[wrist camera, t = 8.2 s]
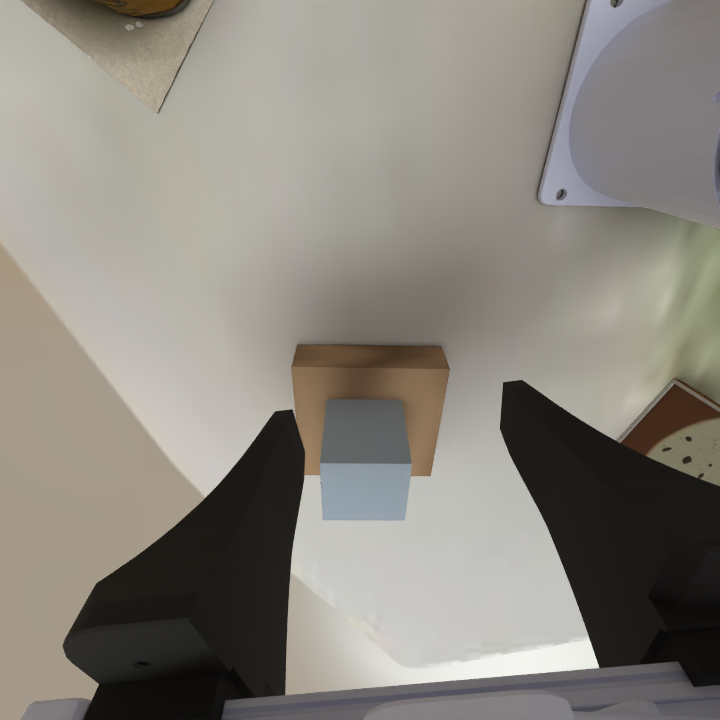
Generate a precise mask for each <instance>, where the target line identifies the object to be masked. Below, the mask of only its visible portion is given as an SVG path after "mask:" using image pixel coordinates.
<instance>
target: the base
mask: <svg viewBox="0 0 720 720" xmlns="http://www.w3.org/2000/svg"><path fill="white" fill-rule="evenodd" d="M291 368H292V379H293V389H294V400H295V411H296V422H297V426H298V430H299V433H300V436H301V439H302V443H303V446H304V449H305V472H304V475H320V456H321V447H322V438H323V429H324V420H325V411H326V402H327V399H364V400H402V405H403V411H404V417H405V423H406V430H407V436H408V442H409V448H410V455H411V461H412V468H411V475H410V476H431V471H432V465H433V460H434V454H435V448H436V443H437V437H438V432H439V426H440V421H441V415H442V410H443V404H444V398H445V393H446V387H447V382H448V376H449V371H450V368H449V366H448V363H447V360H446V358H445V355H444V352H443V350H442V347H415V346H347V345H297V348H296V352H295V355H294V359H293V363H292V367H291Z"/></svg>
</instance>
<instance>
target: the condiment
mask: <svg viewBox="0 0 720 720" xmlns="http://www.w3.org/2000/svg"><path fill="white" fill-rule="evenodd" d="M22 1H23V2H24V3H25V4H26V5H28V6H29V7H30V8H31V9H32V10H34V11H35V12H36V13H37V14H39V15H40V16H41V17H42V18H43V19H44V20H46V21H47V22H48V23H50V24H51V25H52V26H53V27H55V28H56V29H57V30H58V31H60V32H61V33H62V34H63V35H64V36H65V37H67V38H68V39H69V40H70V41H71V42H72V43H74V44H75V45H76V46H77V47H78V48H80V49H81V50H82V51H83V52H85V53H86V54H87V55H90V56H91V57H92V59H93V60H94V61H95V62H97V63H98V64H99V65H100V66H101V67H102V68H103V69H105V70H106V71H107V72H108V73H109V74H111V75H112V76H113V77H114V78H115V79H117V80H118V81H119V82H121V83H122V84H123V85H124V86H125V87H127V88H128V89H129V90H130V91H132V92H133V94H135V95H136V96H137V97H138V98H139V99H141V100H142V101H143V102H144V103H145V104H146V105H148V106H149V107H150V108H151V109H153V110H154V111H155V112H156V113H158V111H159V109H160V107H161V105H162V102H163V100H164V98H165V96H166V93H167V92H168V90H169V88H170V86H171V84H172V82H173V80H174V78H175V75H176V73H177V71H178V69H179V67H180V65H181V63H182V61H183V59H184V57H185V55H186V53H187V51H188V48H189V46H190V44H191V43H192V41H193V39H194V37H195V35H196V33H197V31H198V29H199V27H200V25H201V23H202V22H203V20H204V18H205V16H206V14H207V12H208V10H209V8H210V6H211V4H212V2H213V0H22ZM136 21H140V22H142V24H144V26H143V27H137V26H136V25H135V23H136ZM128 24H132V25H134V29H133V30H130V31H128V30H126V29H125V25H128Z"/></svg>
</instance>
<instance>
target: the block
mask: <svg viewBox="0 0 720 720" xmlns="http://www.w3.org/2000/svg"><path fill="white" fill-rule="evenodd" d="M411 468H412V461H411V455H410V448H409V442H408V436H407V430H406V423H405V417H404V411H403V405H402V400H364V399H327V402H326V411H325V420H324V429H323V438H322V447H321V456H320V476H321V492H322V509H323V520H405V514H406V506H407V498H408V491H409V483H410V475H411Z"/></svg>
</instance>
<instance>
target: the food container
mask: <svg viewBox="0 0 720 720" xmlns="http://www.w3.org/2000/svg"><path fill="white" fill-rule="evenodd" d="M617 442H619V443H621V444H623V445H625V446H627V447H629V448H631V449H633V450H635V451H637V452H639V453H641V454H643V455H645V456H647V457H649V458H651V459H654V460H656V461H658V462H660V463H663V464H665V465H667V466H670V467H672V468H674V469H677V470H679V471H681V472H684V473H686V474H689V475H691V476H694V477H696V478H699V479H702V480H704V481H707V482H710V483H712V484H715V485H718V486H720V405H719V404H718V403H716V402H714V401H713V400H711V399H710V398H708V397H706V396H705V395H703V394H702V393H700V392H698V391H697V390H695V389H694V388H692V387H690V386H689V385H687V384H686V383H684V382H682V381H679V380H676V379H674V378H673V379H672V380H671V381H670V382H669V383H668V384H667V386H666V387H665V388H664V389H663V390H662V391H661V392H660V393H659V394H658V395H657V397H656V398H655V399H654V400H653V401H652V402H651V403H650V404H649V405H648V406H647V408H646V409H645V410H644V411H643V412H642V413H641V414H640V415H639V416H638V417H637V419H636V420H635V421H634V422H633V423H632V424H631V425H630V426H629V427H628V428H627V430H626V431H625V432H624V433H623V434H622V435H621V436H620V437H619V438H618V439H617Z"/></svg>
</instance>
